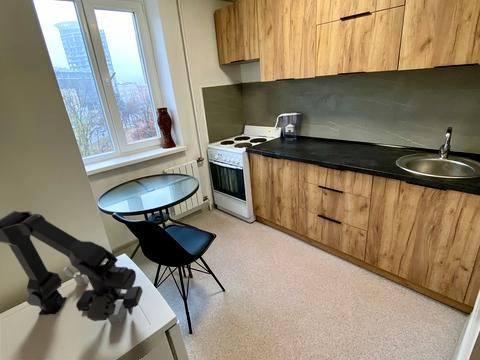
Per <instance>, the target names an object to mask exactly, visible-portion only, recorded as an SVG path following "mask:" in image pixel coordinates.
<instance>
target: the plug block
mask: <svg viewBox="0 0 480 360" xmlns="http://www.w3.org/2000/svg"><path fill="white" fill-rule="evenodd" d="M114 304H115V305H116V307H115V311H114V314H113V315H110V316H109V318H108V319H107V320H108V322H109V323H110V325H111V326H115V325H122V324H123V322H124V319H125V317H126V315H127V312H128V310H127V308H125V309H124V307H125V306H124V305H123V300H116V301H115V303H114Z"/></svg>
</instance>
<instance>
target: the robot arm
mask: <svg viewBox="0 0 480 360" xmlns="http://www.w3.org/2000/svg"><path fill="white" fill-rule="evenodd" d="M31 236H32V237H34V238H35V239H37V240H38V241H40V242H42V243H44V244H45V245H47V246H49V247H51V248H52V249H54V250H56V251H57V252H59V253H61V254H63V255H64V256H66V257H67V258H68V260H69V262H70V264H71V266H73V268H75V269H76V270H77V271H78V272H80V274H81V275H86V276H87V278H88V280H89V283H90V285H91V287H92V289H86V290H84V291H83V292H82V294H81V295H80V297H79V298H78V300H77V302H76V305H75V308H76V309H77V311H78V312H82V311H84V312H83V313H86V312H85V311H88V312H87V315H86V318H87V319H89V320H91V321H93V322H97V321H98V322H99V321H106V320H108V318H109V316H110V315H113V314H114V311H115V307H116V305H115V304H114V303H115V301H123V305H124V306H125V307H124V309H125V308H127V312H128V314H129V315H130V316H131V315H133V311H134V308H136V307H138V305H139V302H140V300H141V297H142V294H143V288H142V286H141V285H137V286H135V285H134V284H135V282H136V278H137V275H136V270H135V269H133V268H128V267H127V266H116V263H117V262H118V261H119V260H118V258H117V257H116V256H115V254H113V252H110V251H109V250H107V249H106V248H105V247H103V246H102V245H100V244H97V243H95V242H93V241H89V240H88V241H84V240H80V239H78V238H76V237H75V236H73V235H71V234H69V233H68V232H67V231H65V230H63V229H61V228H59V227H57V226H56V225H54V224H52V223H51V222H50V221H48V220H46V218H45V217H44V216H43V215H41V214H39V213H32V212H31V211H30V210H29V211H20V212H19V211H17V210H13V211H11V212H10V213H8V214H6V215H5V216H3V217H1V218H0V243H2V244H6V245H8V247H9V248H10V249H11V251H12V253H13V255H14V256H15V258H16V259H17V261H18V263H19V264H20V266H21V267H22V269H23V271H24V272H25V275H26V276H27V277H28V282H27V286H26V289H27V292H28V294H29V295H28V297H27V298H26V300H25V302H27V303H28V304H29V305H30V306H35V307H39V309H40V311H39V313H38V315H39V316H49V315H57V314H58V313H59V312H60V310H61V308H62V307H63V306H64V304H65V303H66V301H67V299H68V297H67V296H63V295H62V294H61V293H60V292H59V288H60V287H62V278H61V277H60V276H59V273H56V272H53V271H49V270H48V269H47V267H46V265H45V263H44V261H43V260H42V257H41V256H40V253H39V251H38V250H37V248H36V246H35V245H34V242H33V240H32V239H31ZM105 260H107V261H105ZM104 261H105V263H103V262H104ZM93 289H94V290H93ZM119 289H121V290H124V291H120V292H119Z"/></svg>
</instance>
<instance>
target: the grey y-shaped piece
mask: <svg viewBox="0 0 480 360" xmlns="http://www.w3.org/2000/svg"><path fill="white" fill-rule="evenodd" d="M62 272H63V273H65V275H67V276H68V278H73V279H74V281H75V283H76V285H78V284H83V285H82V286H86V284H87V285H88V284H89V283H90V281H89V279H88V277H87V276H86V275H81V274H80V272H79V271H78V272H77V271H76V272H75V271H74V270H73V269H72V268H71V267H70V266H65V267H64V268H63V269H62Z"/></svg>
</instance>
